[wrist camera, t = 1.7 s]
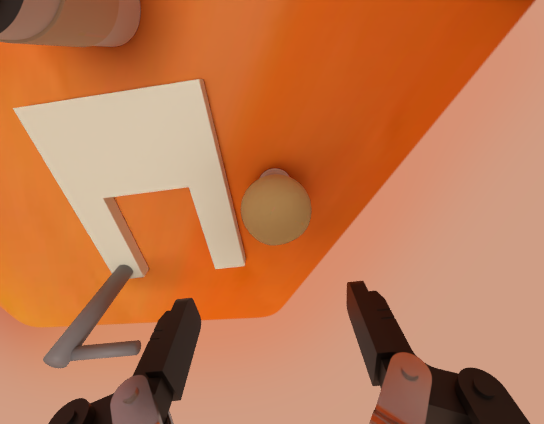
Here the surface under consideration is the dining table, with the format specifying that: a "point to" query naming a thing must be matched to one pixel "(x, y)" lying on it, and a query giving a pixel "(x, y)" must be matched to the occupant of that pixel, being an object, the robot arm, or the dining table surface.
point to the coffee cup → (69, 22)
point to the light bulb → (276, 208)
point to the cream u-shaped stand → (132, 183)
